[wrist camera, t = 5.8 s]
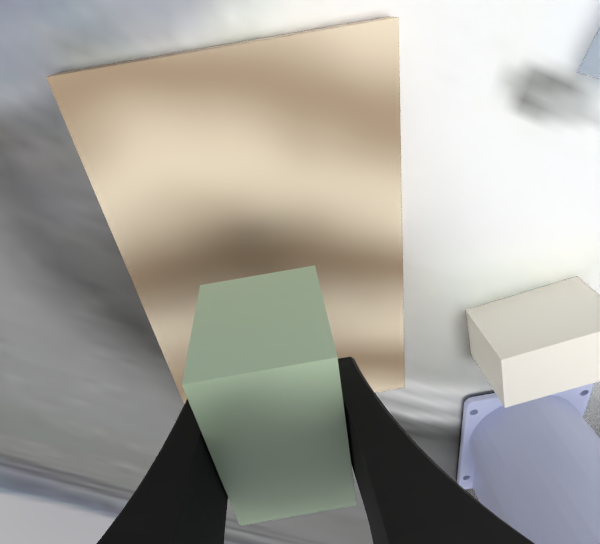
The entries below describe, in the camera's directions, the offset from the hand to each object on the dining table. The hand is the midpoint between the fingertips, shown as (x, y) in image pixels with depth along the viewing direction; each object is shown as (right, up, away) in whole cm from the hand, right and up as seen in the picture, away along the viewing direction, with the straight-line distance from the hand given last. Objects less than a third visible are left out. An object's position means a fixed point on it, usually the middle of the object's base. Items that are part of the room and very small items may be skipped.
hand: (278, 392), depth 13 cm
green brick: (0, +1, +1) cm, 2 cm away
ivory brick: (+13, +1, +11) cm, 17 cm away
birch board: (-1, +4, +7) cm, 8 cm away
